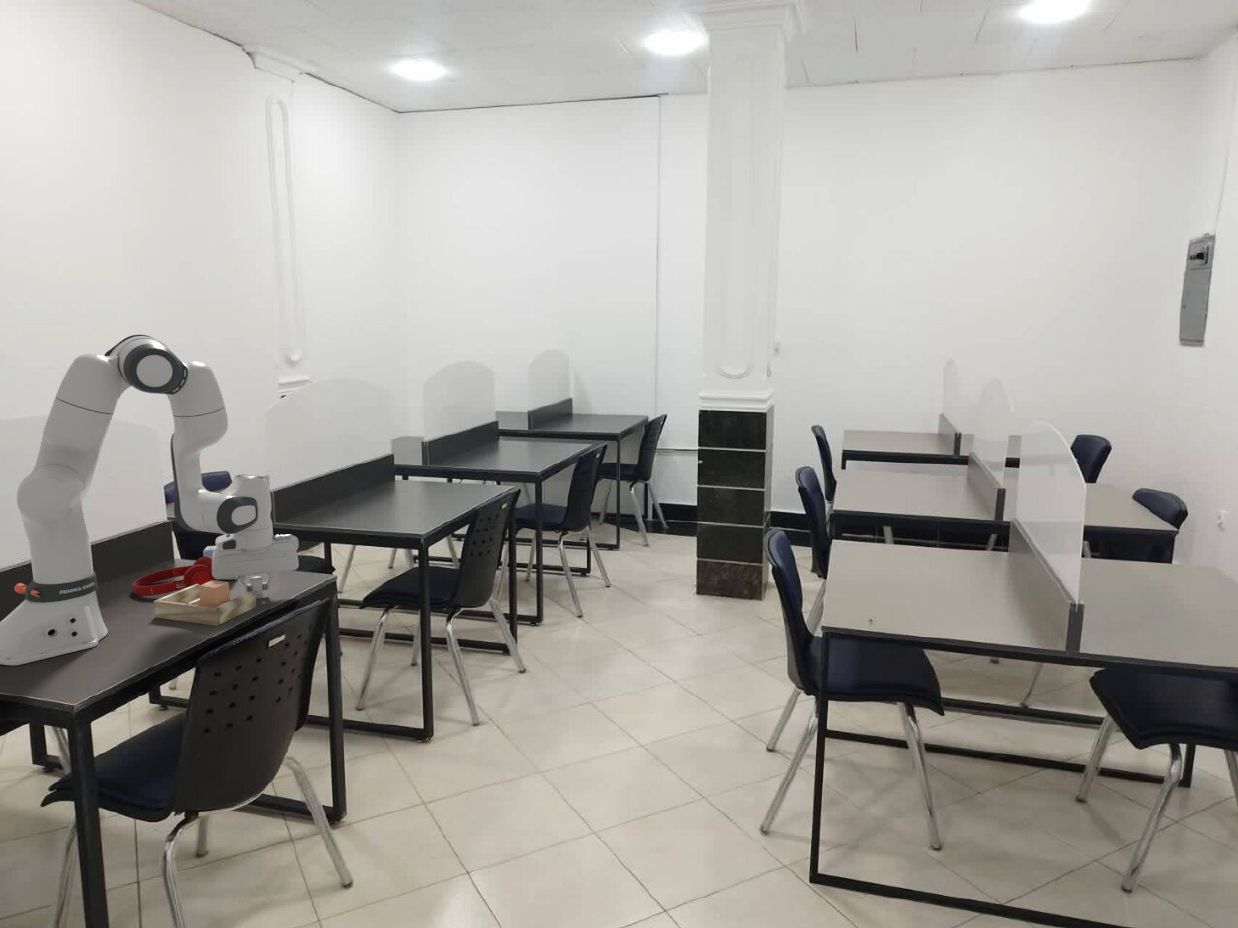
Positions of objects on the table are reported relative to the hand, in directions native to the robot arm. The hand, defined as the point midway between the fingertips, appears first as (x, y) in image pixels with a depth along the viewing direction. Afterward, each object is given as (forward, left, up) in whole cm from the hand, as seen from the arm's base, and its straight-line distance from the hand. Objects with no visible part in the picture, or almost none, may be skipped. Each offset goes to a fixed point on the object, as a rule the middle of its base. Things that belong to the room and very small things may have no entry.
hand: (257, 590), depth 220 cm
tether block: (-7, -2, -2) cm, 8 cm away
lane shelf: (-14, +1, -2) cm, 14 cm away
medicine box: (+4, +20, -2) cm, 21 cm away
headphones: (-8, +23, -2) cm, 24 cm away
